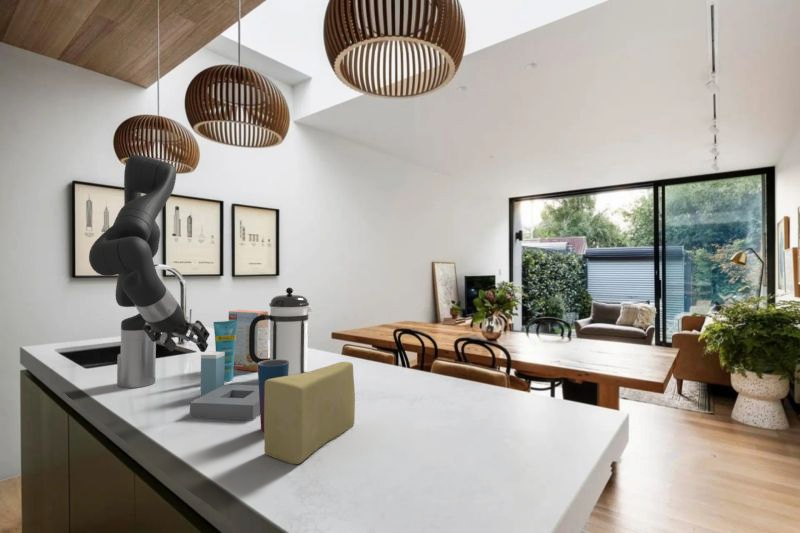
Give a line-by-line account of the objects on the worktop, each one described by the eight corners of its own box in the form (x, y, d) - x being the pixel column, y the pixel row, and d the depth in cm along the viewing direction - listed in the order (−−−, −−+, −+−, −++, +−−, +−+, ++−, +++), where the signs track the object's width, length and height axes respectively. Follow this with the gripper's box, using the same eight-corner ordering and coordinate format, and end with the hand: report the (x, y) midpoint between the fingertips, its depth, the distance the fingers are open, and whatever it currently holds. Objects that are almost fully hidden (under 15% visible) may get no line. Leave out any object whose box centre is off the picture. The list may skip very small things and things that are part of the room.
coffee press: (289, 369, 149) (290, 286, 149) (320, 376, 140) (321, 287, 140) (247, 379, 135) (248, 287, 135) (278, 388, 126) (279, 289, 126)
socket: (189, 417, 101) (189, 400, 101) (224, 397, 117) (224, 382, 117) (252, 419, 99) (253, 403, 99) (279, 399, 115) (279, 384, 115)
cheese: (336, 420, 100) (337, 357, 100) (369, 428, 94) (369, 362, 94) (261, 454, 81) (262, 377, 81) (296, 467, 76) (297, 385, 76)
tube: (215, 383, 130) (216, 322, 130) (210, 380, 134) (211, 320, 134) (239, 379, 135) (240, 320, 135) (233, 376, 139) (234, 319, 139)
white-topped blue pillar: (200, 397, 116) (201, 354, 116) (209, 392, 120) (209, 351, 120) (215, 398, 115) (216, 355, 116) (224, 393, 120) (224, 351, 120)
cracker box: (268, 368, 150) (269, 311, 150) (256, 372, 145) (257, 312, 145) (240, 364, 156) (240, 309, 156) (227, 368, 150) (227, 310, 151)
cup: (294, 425, 95) (295, 360, 96) (276, 437, 89) (277, 367, 89) (269, 422, 98) (270, 358, 98) (250, 432, 91) (250, 364, 91)
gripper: (195, 296, 97) (220, 337, 109) (139, 295, 99) (170, 336, 110) (181, 321, 92) (209, 362, 103) (121, 320, 94) (156, 360, 105)
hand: (189, 348), depth 107 cm, fingers open, 8 cm apart
